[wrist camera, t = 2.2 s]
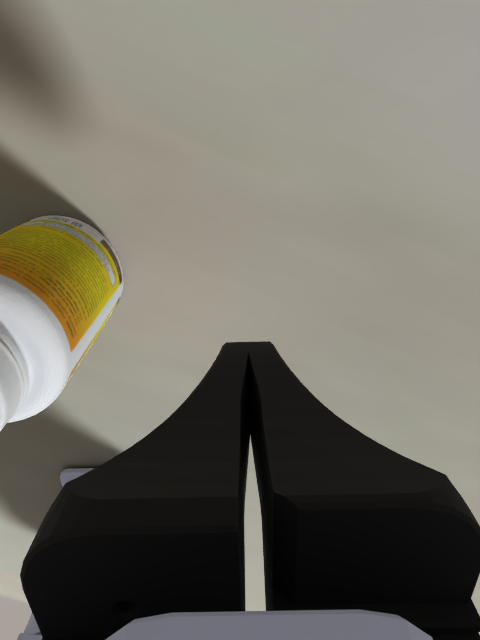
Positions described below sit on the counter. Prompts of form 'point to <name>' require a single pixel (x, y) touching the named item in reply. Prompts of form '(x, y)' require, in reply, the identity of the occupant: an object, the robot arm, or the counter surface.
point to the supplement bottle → (50, 307)
